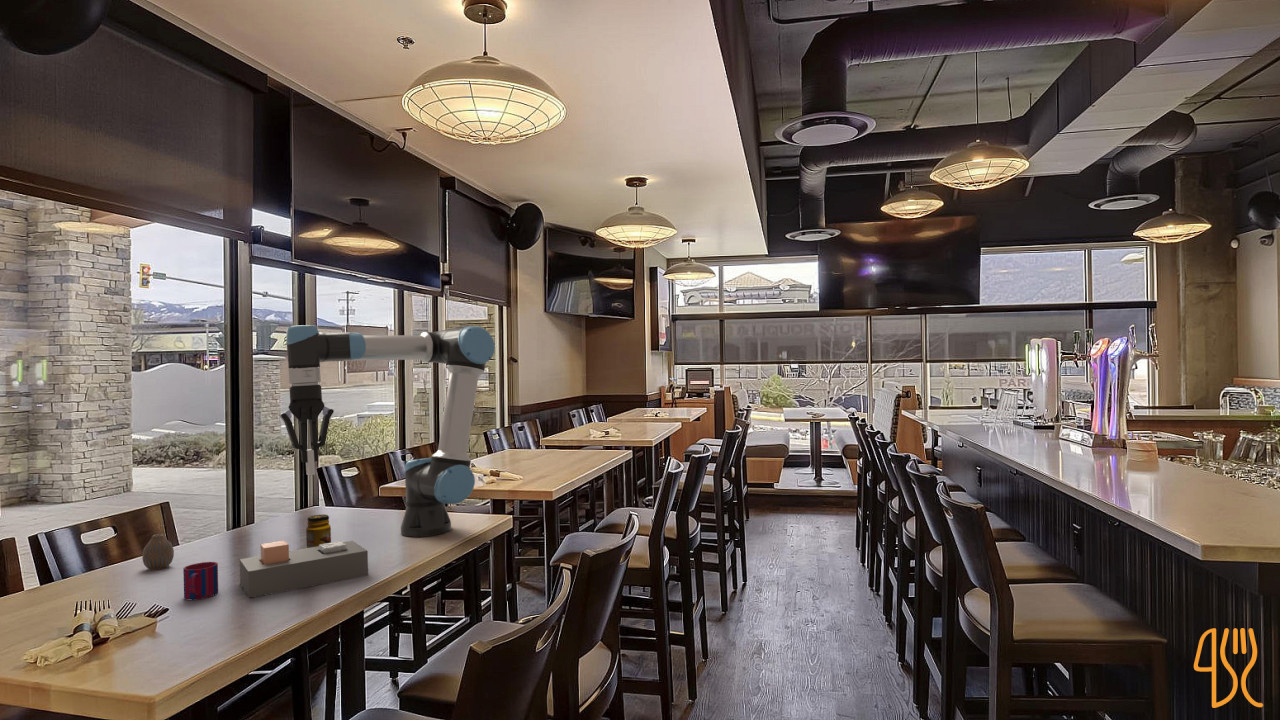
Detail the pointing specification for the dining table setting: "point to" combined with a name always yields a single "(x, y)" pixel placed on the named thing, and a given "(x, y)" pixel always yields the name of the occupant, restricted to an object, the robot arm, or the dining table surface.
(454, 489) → the robot arm
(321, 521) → the condiment
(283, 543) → the tan rectangular block
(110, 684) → the dining table surface
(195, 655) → the dining table surface
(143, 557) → the vase
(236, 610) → the dining table surface
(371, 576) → the dining table surface
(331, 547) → the white block
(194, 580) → the mug
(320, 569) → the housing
